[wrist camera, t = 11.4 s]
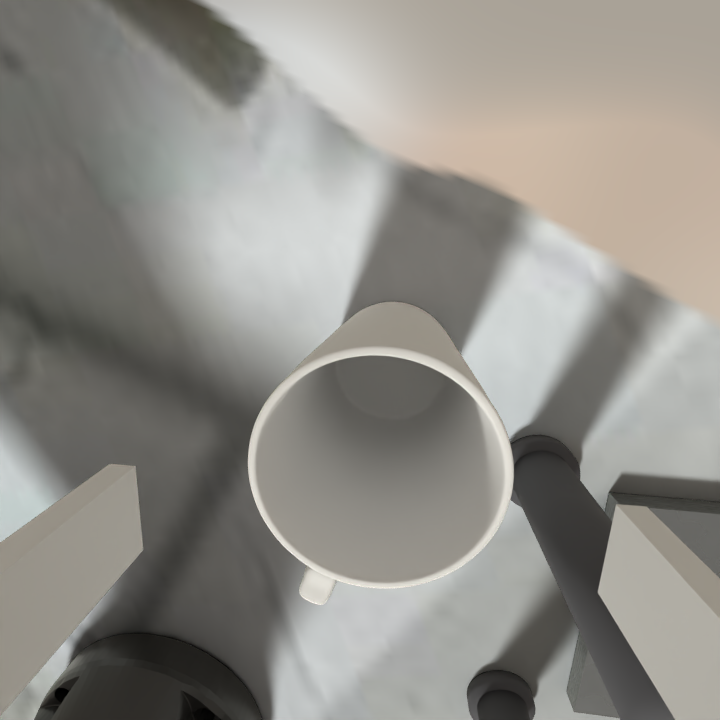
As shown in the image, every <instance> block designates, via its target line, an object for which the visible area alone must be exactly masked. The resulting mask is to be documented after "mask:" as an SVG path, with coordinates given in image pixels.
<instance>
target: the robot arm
mask: <svg viewBox="0 0 720 720" xmlns="http://www.w3.org/2000/svg"><path fill="white" fill-rule="evenodd" d="M142 551H143V541H142V530H141V519H140V508H139V497H138V486H137V476H136V466H131V465H119V464H109V465H107V466H106V467H105V468H103V469H102V470H100V471H99V472H98V473H96V474H95V475H93V476H92V477H91V478H89V479H88V480H87V481H85V482H84V483H82V484H81V485H80V486H78V487H77V488H75V489H74V490H73V491H71V492H70V493H69V494H67V495H66V496H64V497H63V498H62V499H60V500H59V501H57V502H56V503H55V504H53V505H52V506H50V507H49V508H48V509H46V510H45V511H44V512H42V513H41V514H39V515H38V516H37V517H35V518H34V519H32V520H31V521H30V522H28V523H27V524H26V525H24V526H23V527H21V528H20V529H19V530H17V531H16V532H14V533H13V534H12V535H10V536H9V537H7V538H6V539H5V540H3V541H2V542H1V543H0V716H1V715H2V713H3V712H4V711H5V710H6V709H7V708H8V707H9V705H10V704H11V703H12V702H13V701H14V700H15V698H16V697H17V696H18V695H19V694H20V693H21V691H22V690H23V689H24V688H25V687H26V686H27V684H28V683H29V682H30V681H31V680H32V679H33V678H34V676H35V675H36V674H37V673H38V672H39V671H40V669H41V668H42V667H43V666H44V665H45V664H46V662H47V661H48V660H49V659H50V658H51V657H52V655H53V654H54V653H55V652H56V651H57V650H58V648H59V647H60V646H61V645H62V644H63V643H64V642H65V640H66V639H67V638H68V637H69V636H70V635H71V633H72V632H73V631H74V630H75V629H76V628H77V626H78V625H79V624H80V623H81V622H82V621H83V619H84V618H85V617H86V616H87V615H88V614H89V612H90V611H91V610H92V609H93V608H94V607H95V606H96V604H97V603H98V602H99V601H100V600H101V599H102V597H103V596H104V595H105V594H106V593H107V592H108V590H109V589H110V588H111V587H112V586H113V585H114V583H115V582H116V581H117V580H118V579H119V578H120V576H121V575H122V574H123V573H124V572H125V571H126V570H127V568H128V567H129V566H130V565H131V564H132V563H133V561H134V560H135V559H136V558H137V557H138V556H139V554H140V553H141V552H142ZM598 594H599V595H600V597H601V599H602V600H603V602H604V604H605V605H606V607H607V609H608V610H609V612H610V614H611V615H612V617H613V618H614V620H615V622H616V623H617V625H618V627H619V628H620V630H621V632H622V633H623V635H624V636H625V638H626V640H627V641H628V643H629V645H630V646H631V648H632V650H633V651H634V653H635V655H636V656H637V658H638V659H639V661H640V663H641V664H642V666H643V668H644V669H645V671H646V673H647V674H648V676H649V678H650V679H651V681H652V682H653V684H654V686H655V687H656V689H657V691H658V692H659V694H660V696H661V697H662V699H663V700H664V702H665V704H666V705H667V707H668V709H669V710H670V712H671V714H672V715H673V717H674V719H675V720H720V578H719V577H718V576H717V575H716V574H715V573H714V572H713V571H712V570H711V569H710V568H709V567H708V566H707V565H705V564H704V563H703V562H702V561H701V560H700V559H699V558H698V557H697V556H696V555H695V554H694V553H693V552H692V551H691V550H690V549H689V548H688V547H687V546H686V545H685V544H684V543H683V542H682V541H681V540H680V539H679V538H678V537H677V536H676V535H675V534H674V533H673V532H672V531H671V530H670V529H669V528H668V527H667V526H666V525H665V524H664V523H663V522H662V521H661V520H660V519H659V518H658V517H657V516H656V515H655V514H654V513H653V512H652V511H651V510H650V509H649V508H647V507H645V506H633V505H620V504H616V507H615V512H614V517H613V522H612V526H611V531H610V536H609V541H608V546H607V550H606V555H605V560H604V565H603V569H602V574H601V579H600V584H599V588H598ZM34 720H262V719H261V716H260V713H259V710H258V708H257V705H256V703H255V701H254V699H253V698H252V696H251V694H250V693H249V691H248V690H247V689H246V687H245V686H244V685H243V683H242V682H241V681H240V680H239V679H238V678H237V677H236V676H235V675H234V674H233V673H232V672H231V671H230V670H229V669H228V668H227V667H226V666H224V665H223V664H222V663H220V662H219V661H218V660H216V659H215V658H213V657H212V656H210V655H209V654H207V653H205V652H203V651H202V650H200V649H198V648H195V647H193V646H191V645H189V644H186V643H184V642H181V641H178V640H175V639H171V638H168V637H163V636H158V635H151V634H123V635H117V636H112V637H108V638H105V639H102V640H100V641H97V642H95V643H93V644H91V645H90V646H88V647H87V648H85V649H84V650H83V651H81V652H80V653H79V654H78V655H77V656H76V657H75V658H74V660H73V661H72V662H71V663H70V665H69V666H68V667H67V668H66V670H65V671H64V672H63V673H62V674H61V676H60V677H59V678H58V679H57V681H56V682H55V683H54V684H53V686H52V687H51V688H50V690H49V692H48V693H47V695H46V696H45V698H44V700H43V702H42V704H41V706H40V708H39V710H38V713H37V715H36V717H35V719H34Z"/></svg>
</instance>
